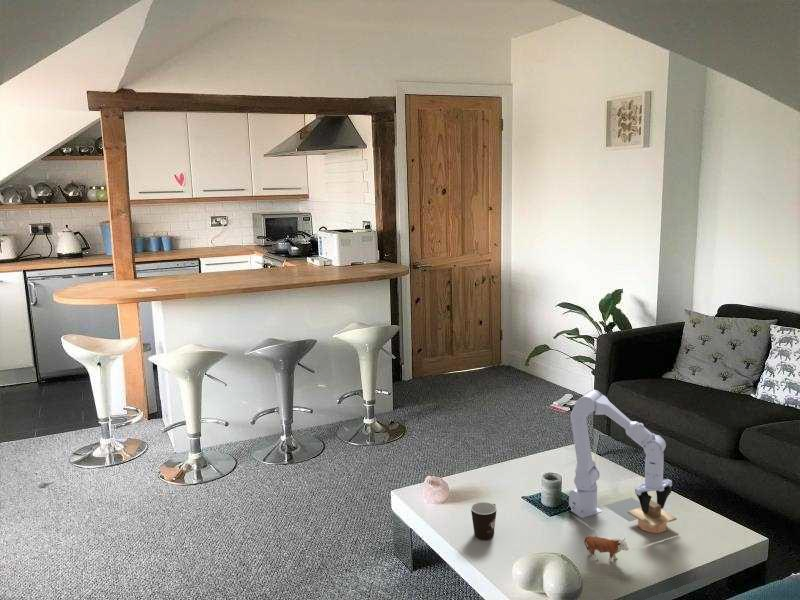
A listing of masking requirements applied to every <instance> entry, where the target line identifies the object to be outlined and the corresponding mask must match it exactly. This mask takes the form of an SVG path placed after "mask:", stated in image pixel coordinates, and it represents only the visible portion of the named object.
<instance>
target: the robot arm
mask: <svg viewBox="0 0 800 600" xmlns="http://www.w3.org/2000/svg"><path fill="white" fill-rule="evenodd" d="M594 412H595V413H594ZM593 413H594V415H595V416H599V415H601V416H602V415H603V416H604V415H605V416H606V417H608V418H610V419H611V420H612V421H614V422H615V423H616V424H618V425H619V426H620V427H622V428H623V429H624V430H625V434H626V436H628V437H629V438H630V439H631V440H632V441H634V442H635V443H636V444H638V445H639V446H640V447H641V448H642V449H643V452H644V454H645V461H644V462H645V463H644V464H645V465H644V482H643V483H642V484H639V486H636V487H634V494H636V497H637V499H638V501H639V502H640V504H641V508H642V511H643V512H645V513H648V511H649V503H650V500H652V498H653V496H652V495H650V494H649V493H648V492H654V491H655V492H656V503H657V504H659V505H661V509H662V510H663V509H664V508H665V504H666V501H667V499H668V497H669V496H670V494H671V493H672V489H671V488H670V487H672V486H673V481H672V480H671V479H669V478H665V479H664V464H665V463H664V458H665V456H664V451H665V449H666V447H667V442H666V440H665V439H664V438H663V437H662V435H658V434H655V433H654V432H651V431H650V430H649V429H647V428H646V427H645V425H644V423H642V422H638V421H635V420H634V421H633V420H630V418H629V417H628V416H626V415H625V414H624V413H623V412H622V411H621V410H620V409H618V408H617V407H616V405H614V404H613V403H612V402H610V400H609V399H608V397H607V396H606V395H604V394H602V392H600V391H599V390H597V389H590V390H588V391H587V392H586V393H584V394H583V395H582V397H580V398H578V399H577V400H576V401H575V402H574V405H573V408H572V410H571V412H570V422H571V429H572V435H573V436H572V437H573V443H574V449H575V457H576V465H575V466H576V467H575V471H574V472H575V476H574V479H573V483H574V485H575V488H573V489H571V490H570V491H569V494H568V507H569V506H570V507H571V510H570V511H571V513H573V514H575V515H577V516H578V517H579V518H586V517H588V516H593V515H596V514H599V513H602V512H603V510H602V509H600V508H599V507H598V485H597V481H598V480H599V479H600V477H601V476H600V470H599V469H598V467H597V465H596V462H595V461H594V460H593V455H592V450H591V443H590V435H589V428H588V422H587V417H588V416H589V415H591V414H593Z"/></svg>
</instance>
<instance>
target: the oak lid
mask: <svg viewBox="0 0 800 600" xmlns="http://www.w3.org/2000/svg"><path fill="white" fill-rule="evenodd" d="M628 514H630V515H632V516H633V517H635V518H637V519H636V520H637V521H638V520H640V521H641V522H643V523H645V524H646V525H648V526H650V527H651V528H652V527H655V526H658V525H661V524H665V523H667V524H668V523H672V522H675V521H677V517H675V515H672V514H670V513H668V512H667V511H665V510H663V509H661V505H659V504H657V501H654V500H652V499H651V500H650V503H649V511H648V513H645V512H643V511H642V508H641V507H640V508H637V509H633V510H630V511H628Z"/></svg>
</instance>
